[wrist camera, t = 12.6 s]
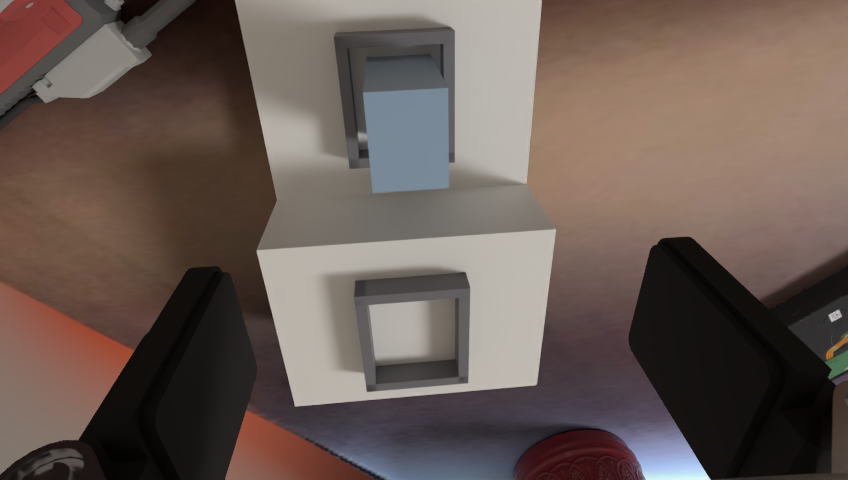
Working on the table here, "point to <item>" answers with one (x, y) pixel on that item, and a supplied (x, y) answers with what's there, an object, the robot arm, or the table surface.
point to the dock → (400, 201)
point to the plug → (406, 123)
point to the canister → (580, 458)
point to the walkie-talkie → (70, 48)
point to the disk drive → (821, 320)
